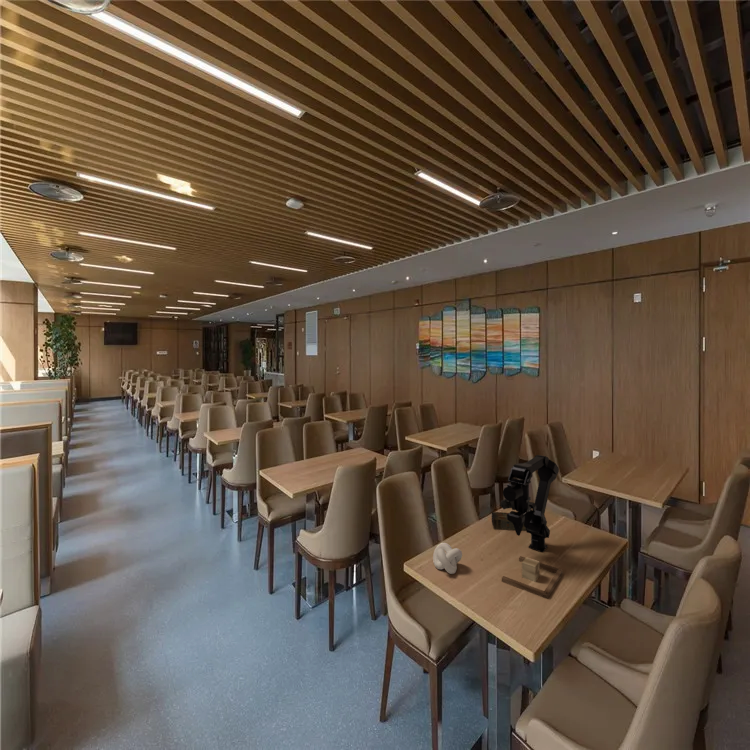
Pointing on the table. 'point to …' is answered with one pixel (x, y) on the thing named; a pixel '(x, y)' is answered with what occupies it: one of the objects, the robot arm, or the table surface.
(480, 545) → the table surface
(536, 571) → the oak block
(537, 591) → the bay
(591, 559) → the table surface
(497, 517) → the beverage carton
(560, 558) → the table surface
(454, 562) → the white decorative knot
